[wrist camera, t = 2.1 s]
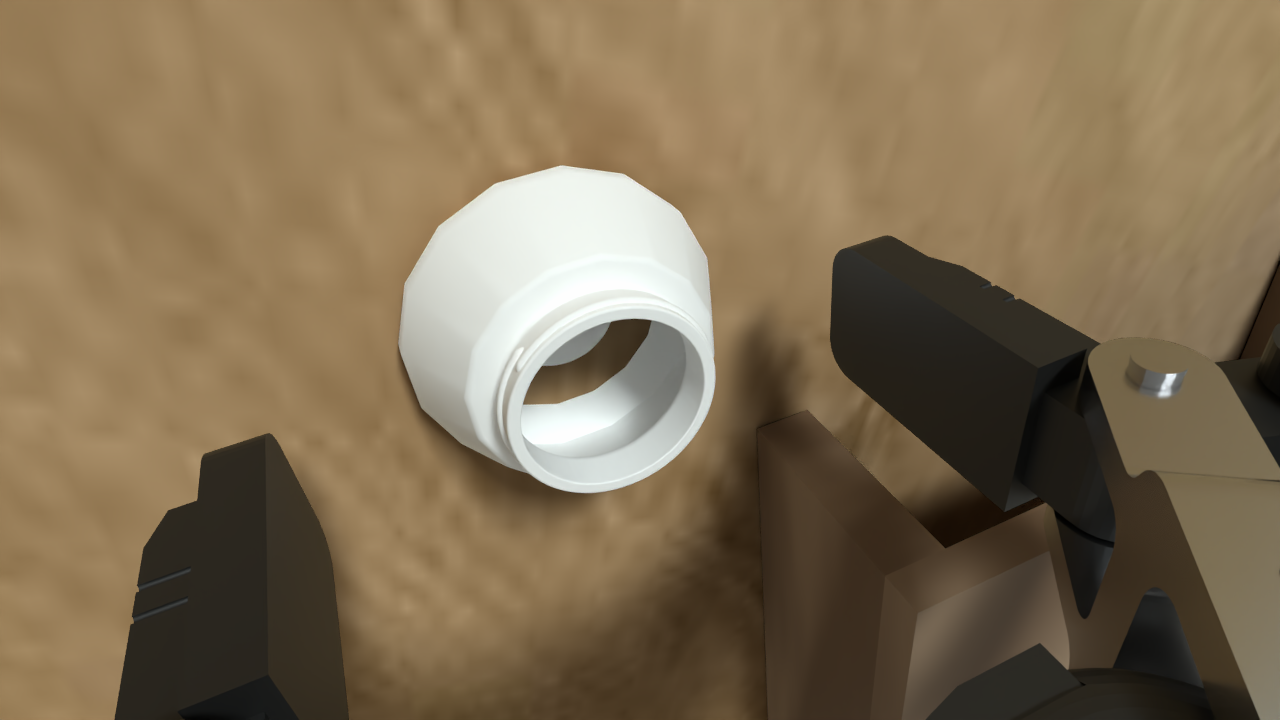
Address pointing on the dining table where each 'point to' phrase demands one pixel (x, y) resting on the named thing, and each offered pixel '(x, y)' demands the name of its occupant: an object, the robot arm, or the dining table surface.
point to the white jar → (562, 326)
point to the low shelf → (893, 583)
